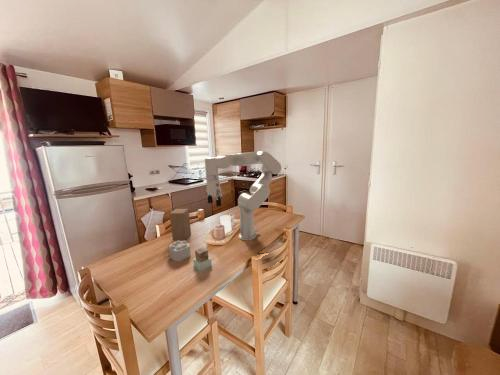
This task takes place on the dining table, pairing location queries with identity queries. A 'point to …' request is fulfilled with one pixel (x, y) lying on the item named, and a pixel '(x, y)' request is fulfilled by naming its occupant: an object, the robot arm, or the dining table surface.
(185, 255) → the lumpy-topped squat cylinder
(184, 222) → the wooden block
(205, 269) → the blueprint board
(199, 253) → the walnut cube
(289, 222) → the dining table surface
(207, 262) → the base block
